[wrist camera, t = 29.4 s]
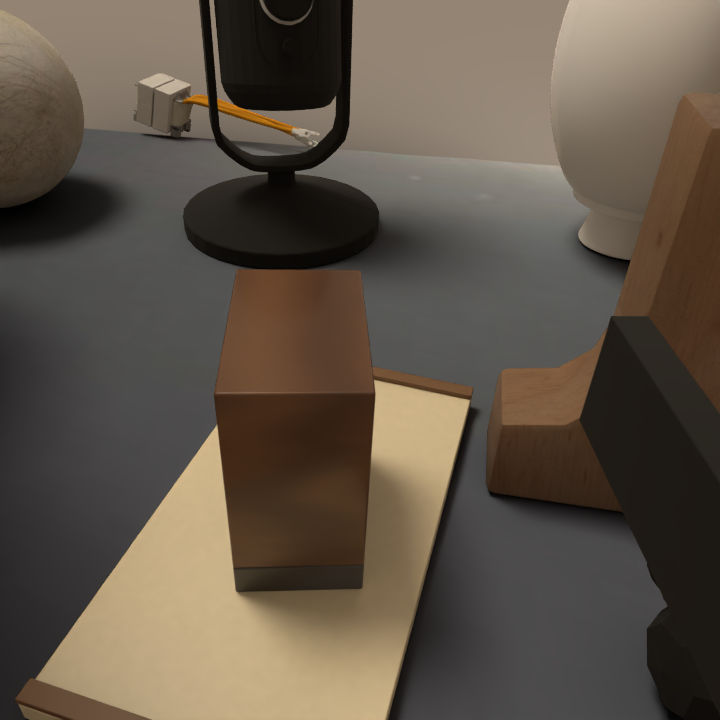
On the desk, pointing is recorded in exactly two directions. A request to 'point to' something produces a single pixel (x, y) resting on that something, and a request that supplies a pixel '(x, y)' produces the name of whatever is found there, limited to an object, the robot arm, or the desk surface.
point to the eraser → (296, 429)
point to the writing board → (263, 596)
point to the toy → (676, 670)
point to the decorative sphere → (34, 114)
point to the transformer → (174, 103)
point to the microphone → (281, 185)
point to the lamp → (625, 102)
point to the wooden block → (638, 298)
